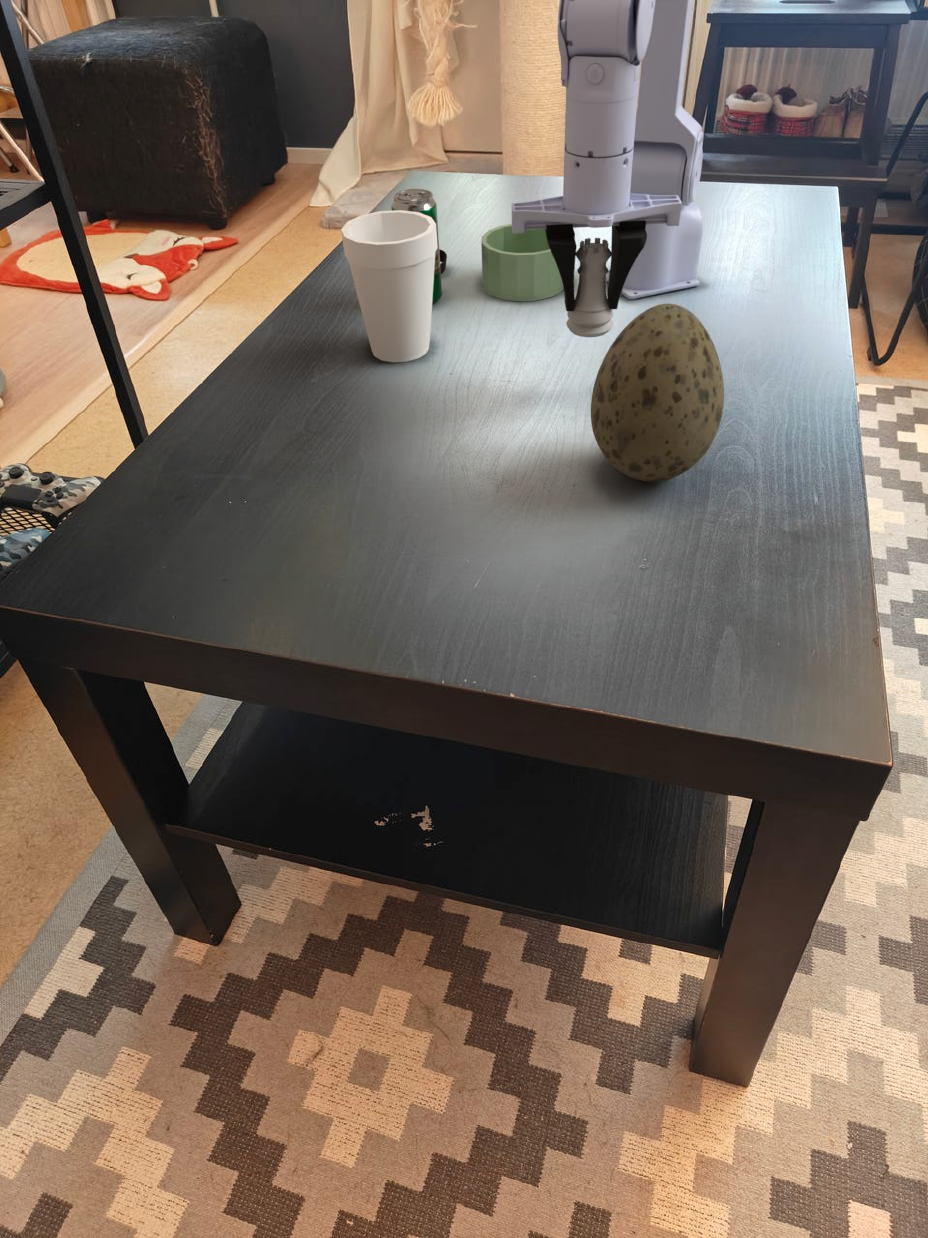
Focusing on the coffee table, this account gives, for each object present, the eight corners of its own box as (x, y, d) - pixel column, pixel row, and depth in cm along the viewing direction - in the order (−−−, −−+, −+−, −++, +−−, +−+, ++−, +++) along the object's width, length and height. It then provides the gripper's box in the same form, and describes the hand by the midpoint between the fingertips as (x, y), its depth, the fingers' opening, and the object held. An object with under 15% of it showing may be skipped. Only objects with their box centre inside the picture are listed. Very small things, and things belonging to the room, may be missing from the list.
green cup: (545, 261, 114) (546, 217, 110) (580, 291, 107) (582, 245, 103) (470, 276, 112) (469, 230, 108) (501, 307, 105) (500, 260, 101)
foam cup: (377, 377, 94) (362, 251, 85) (344, 343, 100) (327, 222, 91) (458, 354, 96) (451, 230, 88) (421, 322, 103) (411, 204, 94)
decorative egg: (732, 462, 79) (764, 297, 69) (673, 523, 73) (698, 351, 63) (626, 427, 84) (641, 268, 74) (563, 481, 78) (569, 316, 68)
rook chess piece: (600, 342, 83) (606, 255, 77) (557, 332, 85) (560, 247, 79) (621, 323, 85) (627, 238, 80) (578, 314, 87) (582, 230, 82)
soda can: (437, 310, 105) (430, 203, 97) (395, 308, 106) (385, 201, 98) (446, 292, 108) (440, 187, 100) (405, 290, 109) (396, 186, 101)
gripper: (513, 166, 72) (514, 328, 81) (696, 157, 71) (675, 321, 80) (510, 140, 77) (511, 295, 86) (680, 132, 76) (662, 288, 86)
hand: (590, 305), depth 84 cm, fingers closed on rook chess piece, 3 cm apart
